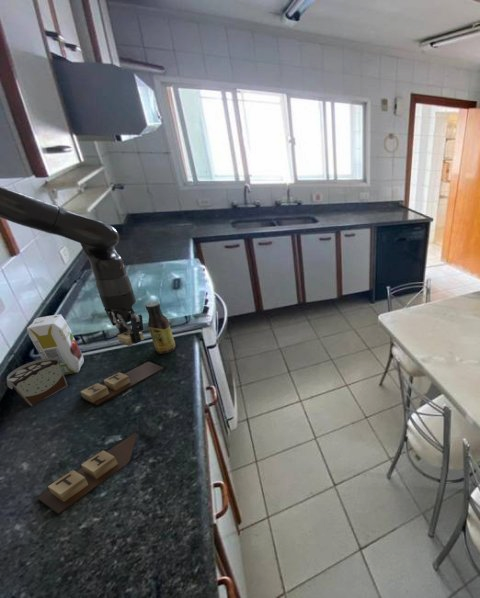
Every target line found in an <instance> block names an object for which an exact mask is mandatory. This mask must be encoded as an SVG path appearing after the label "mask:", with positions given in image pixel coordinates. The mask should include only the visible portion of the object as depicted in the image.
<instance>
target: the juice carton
mask: <svg viewBox="0 0 480 598" xmlns="http://www.w3.org/2000/svg"><path fill="white" fill-rule="evenodd" d="M26 331H27V335H28V337H29V339H30V340H31V342H32V344H33V346H34V348H35V350H36V351H37V353H38V355H39V356H40V359H45V358H58V359H60V360H61V362H62V363H60V365H61V368H62V371H63V374H64V376H67V375H71V374H77V373H79V372H80V370H81V367H82V366H83V364H84V360H85V359H84V355H83V353H82V351H81V349H80V347H79V345H78V342H77V340H76V338H75V337H74V334H73V333H72V331H71V328H70V327H69V324H68V323H67V321H66V319H65V318H64V317H63V315H62V314H61V313H60V314H52V315H47V316H40V317H36V318H34V319H33V321H32V323H31V324H29V325H28V326H27V327H26Z"/></svg>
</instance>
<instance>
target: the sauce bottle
mask: <svg viewBox="0 0 480 598" xmlns="http://www.w3.org/2000/svg"><path fill="white" fill-rule="evenodd" d="M145 309H146V310H147V314H148V322H147V327H148V328H147V329H148V330H149V331H148V332H149V334H150V337H151V340H152V343H153V346H154V349H155V351H156V353H158V354H161V355H162V354H163V355H164V354H168V353H171V352H173V351H174V350H175V349H176V348H177V347H176V342H175V338H174V335H173V331H172V328H171V324H170V323H169V319H168V317H167V316H166V315H164V314H163V311H162V310H161V309H162V308H161V303H160V302H159V301H150V302H147V303H146V304H145Z"/></svg>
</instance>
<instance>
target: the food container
mask: <svg viewBox="0 0 480 598" xmlns="http://www.w3.org/2000/svg"><path fill="white" fill-rule="evenodd" d="M60 363H62V362H61V360H60V359H58V358H45V359H42V358H40V359H36V360H33V361H31V362H28V363H25V364H23V365H21V366H19V367H17V368H15V369H13V370H12V371H11V372H10V373H9V374H7V376H6V384H7V385H6V386H7V387H8V388H9V389H11V390H13V389H14V391H16V393H17V394H18V395H19V396H20V397H21V399H23V401H24V402H25V403H26V404H27V405H28V406H30V407H33V406H34V405H36V404H38V403H40V402H41V401H43V400H45V399H47V398H49V397H51V396H52V395H54V394H56V393H58V392H59V391H62V390H63V389H65V388H67V387H68V386H69V385H68V382H67V379H66V377H65V375H64V374H63V371H62V368H61V365H60Z"/></svg>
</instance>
